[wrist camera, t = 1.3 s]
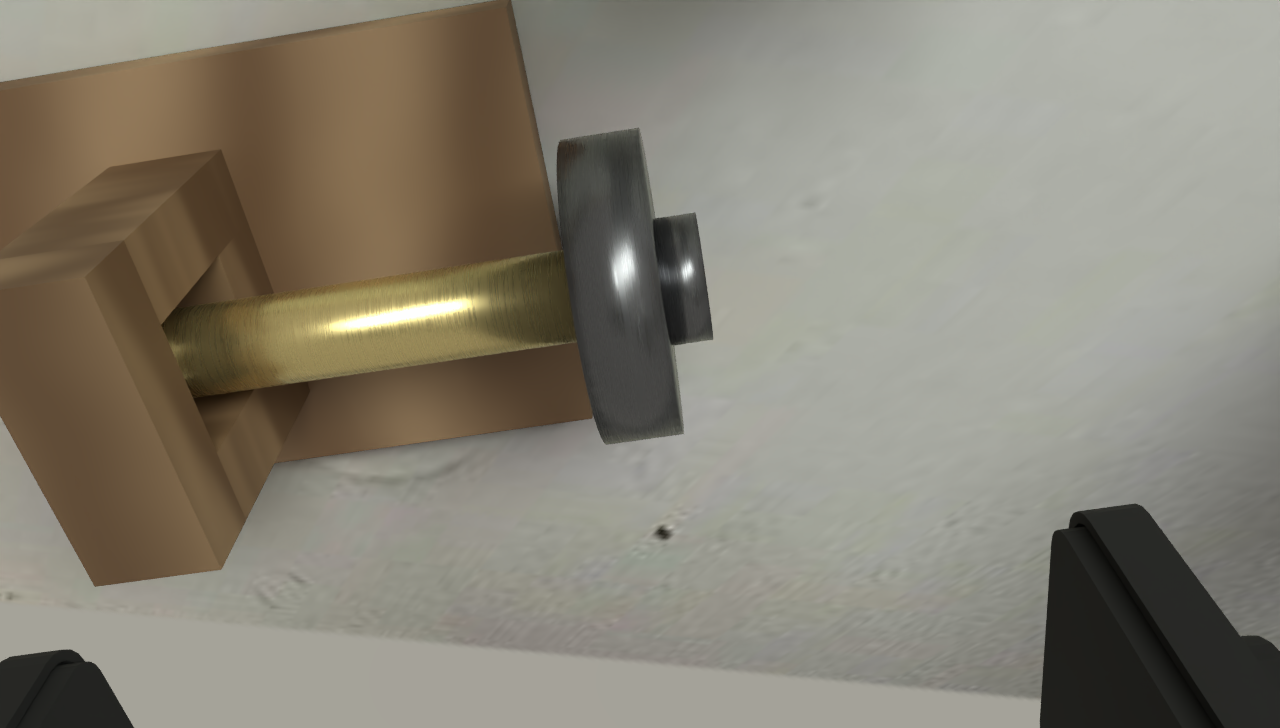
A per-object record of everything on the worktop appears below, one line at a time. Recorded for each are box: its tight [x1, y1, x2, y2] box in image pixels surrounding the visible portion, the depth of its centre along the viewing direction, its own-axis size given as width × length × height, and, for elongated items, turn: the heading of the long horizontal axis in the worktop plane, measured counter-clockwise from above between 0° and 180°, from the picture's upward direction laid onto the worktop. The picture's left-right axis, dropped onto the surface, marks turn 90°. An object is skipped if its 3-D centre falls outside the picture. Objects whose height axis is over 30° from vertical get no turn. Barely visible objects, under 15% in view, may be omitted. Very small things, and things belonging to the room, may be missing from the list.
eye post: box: [0, 0, 593, 587], centre depth 25 cm, size 15×12×9 cm
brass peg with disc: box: [161, 128, 713, 445], centre depth 24 cm, size 17×7×7 cm, turn 99°
